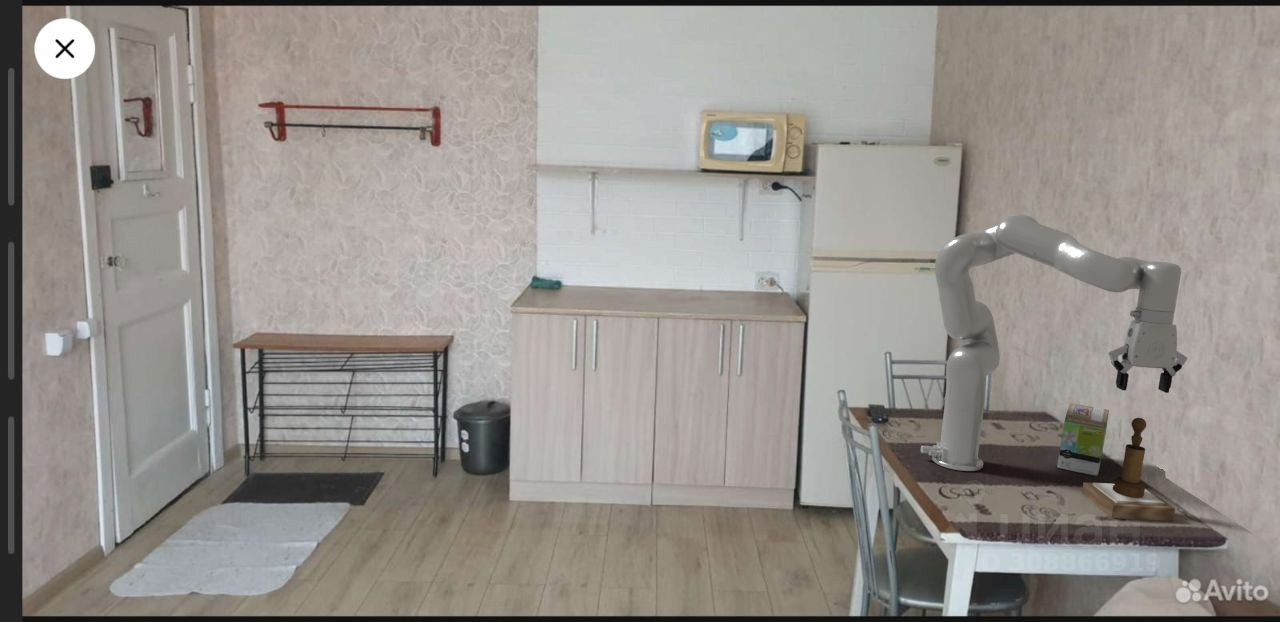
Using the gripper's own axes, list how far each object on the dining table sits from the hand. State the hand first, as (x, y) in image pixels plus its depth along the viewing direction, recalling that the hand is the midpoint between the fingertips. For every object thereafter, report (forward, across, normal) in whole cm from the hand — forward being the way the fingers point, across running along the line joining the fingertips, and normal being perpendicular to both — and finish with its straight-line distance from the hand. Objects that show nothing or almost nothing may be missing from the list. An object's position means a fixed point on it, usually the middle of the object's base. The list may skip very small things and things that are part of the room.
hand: (1142, 390), depth 204 cm
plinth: (+28, 0, 0) cm, 28 cm away
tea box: (+29, +3, +28) cm, 41 cm away
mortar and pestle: (+25, 0, 0) cm, 25 cm away
